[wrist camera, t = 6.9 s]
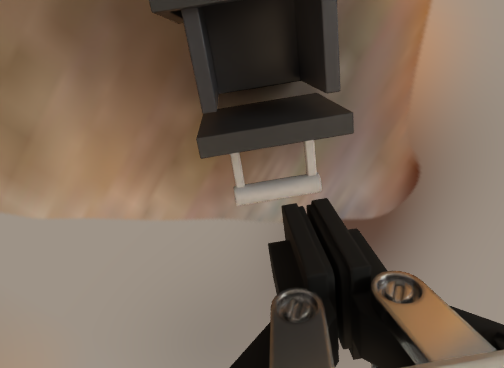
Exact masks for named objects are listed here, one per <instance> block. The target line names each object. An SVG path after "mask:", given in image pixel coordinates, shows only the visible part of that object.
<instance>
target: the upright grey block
mask: <svg viewBox="0 0 504 368" xmlns="http://www.w3.org/2000/svg"><path fill="white" fill-rule="evenodd" d="M233 1H240V0H149V3H150V7H151V11H152V13H155V14H157V15H160V16H162V17H164V18H167V19H169V20H172V21H174V22H176V23H178V24H180V23H184V22H183V17H182V12H181V10H183V9H190V8H196V7H202V6H208V5H215V4H221V3H227V2H233Z"/></svg>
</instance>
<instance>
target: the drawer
mask: <svg viewBox="0 0 504 368" xmlns="http://www.w3.org/2000/svg"><path fill="white" fill-rule="evenodd" d="M181 12H182V17H183V22H184V27H185V32H186V36H187V41H188V46H189V51H190V56H191V60H192V65H193V70H194V75H195V80H196V84H197V89H198V94H199V99H200V104H201V108H202V113H203V117H202V121H201V124H200V128H199V131H198V135H197V138H196V140H197V144H198V149H199V153H200V158H201V159H202V158H208V157H214V156H220V155H226V154H230V155H231V161H232V166H233V172H234V177H235V183H236V186H234V194H235V200H236V205H237V206H240V205H246V204H252V203H258V202H264V201H270V200H276V199H282V198H288V197H294V196H300V195H306V194H311V193H317V192H321V190H322V184H321V179H320V176H319V174H318V173H317V172H316V159H315V145H314V140H316V139H322V138H328V137H334V136H340V135H346V134H352V133H354V129H353V112H351V111H349V110H347V109H345V108H344V107H342V106H340V105H338V104H336V103H334V102H333V101H331V100H329V99H327V98H325V97H323V96H322V95H320V94H318V93H313V94H307V95H301V96H295V97H289V98H282V99H276V100H270V101H264V102H258V103H252V104H246V105H240V106H234V107H228V108H222V109H217V107H218V97H219V94H222V93H229V92H235V91H241V90H247V89H253V88H259V87H265V86H271V85H277V84H284V83H290V82H296V81H303V82H305V83H307V84H309V85H311V86H313V87H315V88H317V89H319V90H321V91H323V92H325V93H332V92H339V91H340V68H339V42H338V16H337V0H240V1H233V2H227V3H221V4H215V5H208V6H202V7H196V8H190V9H183V10H181ZM298 142H304V151H305V163H306V173H307V174H305V175H299V176H293V177H287V178H281V179H275V180H269V181H263V182H257V183H251V184H245V183H244V177H243V171H242V165H241V159H240V154H239V152H244V151H250V150H256V149H262V148H268V147H274V146H280V145H286V144H292V143H298Z"/></svg>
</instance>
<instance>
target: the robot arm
mask: <svg viewBox="0 0 504 368" xmlns="http://www.w3.org/2000/svg"><path fill="white" fill-rule="evenodd" d="M282 215H283V223H284V231H285V239H286V240H285V241H280V242H274V243H269V244H268V246H269V254H270V261H271V267H272V273H273V278H274V283H275V287H276V293H277V296H275V298H274V299H273V301H272V305H271V320H270V323H269V324H268V325H267V326H266V327H265V329H264V330H263V331H262V332H261V333H260V334H259V335H258V336H257V338H256V339H255V340H254V341H253V342H252V343H251V344H250V345H249V346H248V348H247V349H246V350H245V351H244V352H243V353H242V354H241V356H240V357H239V358H238V359H237V360H236V361H235V362H234V363H233V364H232V365H231V367H230V368H335V367H336V365H337V363H338V362H339V355H338V350H339V344H338V338H339V340H340V343H341V345H342V348H343V349H348V348H349V350H350V353H351V355H352V357H353V360H354V359H360V358H363V359H364V360H366V361H368V362H370V363H371V368H504V325H503V324H500V323H497V322H494V321H491V320H489V319H486V318H482V317H480V316H477V315H474V314H472V313H469V312H466V311H463V310H460V309H457V308H455V307H452V306H449V305H448V304H447V303H446V302H444V301H443V300H442V299H441V298H440V297H439V296H438V295H437V294H436V293H435V292H434V291H433V290H431V289H430V288H429V287H428V286H427V285H426V284H425V283H424V282H423V281H421V280H420V279H419V278H417V277H416V276H414V275H411V274H409V273H406V272H401V271H387V270H386V268H385V267H384V265H383V264H382V263H381V261H380V260H379V259H378V257H377V255H376V254H375V253H374V251H373V250H372V248H371V247H370V246H369V244H368V243H367V241H366V240H365V238H364V237H363V236H362V234H361V233H360V231H359V230H358V229H350V230H348V229H347V228H346V226H345V225H344V223H343V222H342V220H341V219H340V217H339V216H338V214H337V213H336V211H335V209H334V208H333V206H332V205H331V203H330V202H329V200H328V199H327V198H324V199H318V200H312V202H311V205H307V214H306V211H305V209H304V207H303V206H300V207H298V205H297V203H295V204H289V205H283V206H282Z"/></svg>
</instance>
